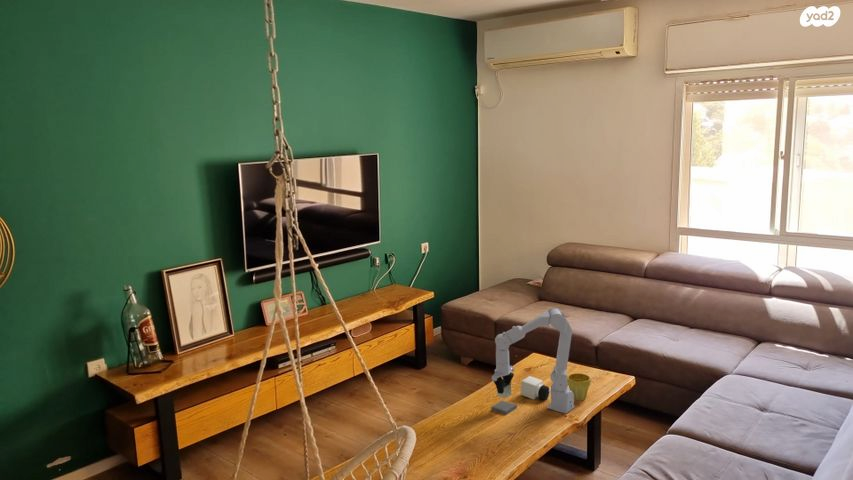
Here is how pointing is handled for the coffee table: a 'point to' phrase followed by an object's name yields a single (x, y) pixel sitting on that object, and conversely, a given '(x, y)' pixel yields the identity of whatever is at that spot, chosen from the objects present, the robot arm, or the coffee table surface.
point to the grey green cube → (505, 390)
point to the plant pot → (579, 385)
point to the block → (504, 407)
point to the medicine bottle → (534, 388)
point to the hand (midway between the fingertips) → (503, 391)
